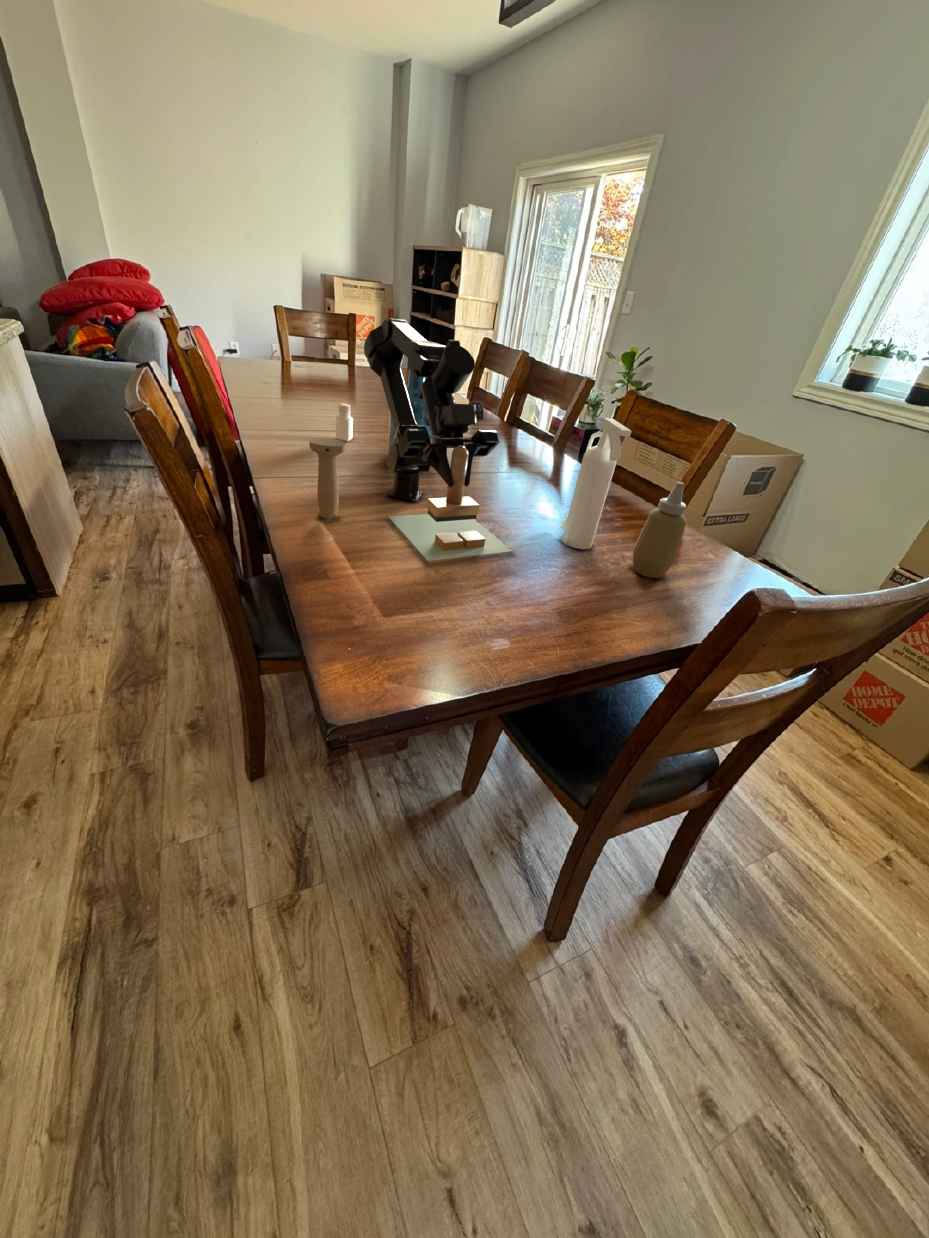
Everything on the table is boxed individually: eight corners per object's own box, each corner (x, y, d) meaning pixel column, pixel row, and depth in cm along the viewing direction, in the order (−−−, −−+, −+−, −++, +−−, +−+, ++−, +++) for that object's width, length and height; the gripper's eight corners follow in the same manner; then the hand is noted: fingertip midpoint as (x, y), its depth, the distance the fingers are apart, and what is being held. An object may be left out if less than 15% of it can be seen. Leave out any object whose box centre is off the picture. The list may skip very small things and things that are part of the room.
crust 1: (434, 541, 97) (435, 533, 96) (453, 539, 99) (454, 532, 98) (443, 550, 94) (444, 543, 93) (462, 548, 96) (463, 541, 95)
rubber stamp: (435, 522, 95) (444, 449, 88) (426, 513, 98) (433, 442, 91) (477, 519, 99) (488, 449, 92) (467, 510, 102) (477, 442, 95)
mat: (387, 520, 105) (387, 516, 104) (464, 514, 113) (465, 511, 112) (426, 564, 91) (427, 560, 90) (511, 555, 99) (512, 551, 98)
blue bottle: (433, 470, 136) (445, 344, 120) (383, 464, 135) (389, 336, 119) (436, 456, 148) (448, 339, 131) (390, 450, 147) (396, 331, 130)
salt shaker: (335, 439, 148) (335, 405, 143) (340, 436, 152) (340, 402, 146) (348, 442, 148) (348, 407, 143) (353, 438, 151) (353, 405, 146)
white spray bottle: (576, 529, 114) (608, 412, 101) (602, 554, 105) (641, 428, 91) (549, 529, 112) (577, 409, 99) (573, 554, 103) (609, 425, 89)
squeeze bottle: (663, 586, 96) (699, 494, 86) (622, 571, 99) (652, 481, 89) (672, 572, 102) (707, 484, 92) (633, 558, 105) (663, 472, 95)
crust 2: (456, 539, 99) (457, 531, 98) (474, 537, 101) (475, 530, 100) (466, 548, 96) (467, 540, 96) (484, 546, 98) (485, 539, 97)
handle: (345, 524, 100) (345, 447, 92) (310, 522, 99) (308, 444, 91) (345, 515, 104) (345, 439, 96) (312, 513, 103) (310, 436, 94)
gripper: (408, 379, 85) (429, 467, 83) (503, 385, 93) (524, 465, 91) (389, 416, 94) (407, 495, 93) (477, 418, 103) (494, 491, 101)
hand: (459, 486), depth 94 cm, fingers closed on rubber stamp, 3 cm apart
